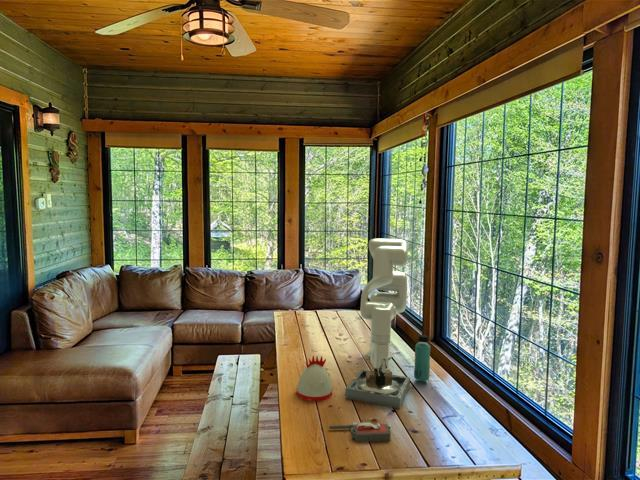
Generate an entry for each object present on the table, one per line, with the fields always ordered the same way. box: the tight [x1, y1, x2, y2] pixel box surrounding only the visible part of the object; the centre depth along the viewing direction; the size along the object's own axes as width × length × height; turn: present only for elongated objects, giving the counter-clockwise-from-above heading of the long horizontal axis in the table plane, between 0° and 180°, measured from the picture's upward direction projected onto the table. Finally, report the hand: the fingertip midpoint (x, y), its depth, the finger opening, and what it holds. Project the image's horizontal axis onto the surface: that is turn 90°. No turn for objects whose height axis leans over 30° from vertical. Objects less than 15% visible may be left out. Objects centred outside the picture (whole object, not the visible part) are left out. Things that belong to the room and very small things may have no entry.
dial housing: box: [344, 369, 411, 410], centre depth 174 cm, size 21×21×4 cm
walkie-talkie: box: [328, 421, 392, 443], centre depth 142 cm, size 9×4×20 cm
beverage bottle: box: [413, 334, 432, 382], centre depth 185 cm, size 6×7×20 cm
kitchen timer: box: [296, 355, 333, 402], centre depth 172 cm, size 14×14×15 cm
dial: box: [359, 368, 399, 395], centre depth 174 cm, size 16×16×6 cm
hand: (379, 382), depth 174 cm, fingers closed on dial, 3 cm apart
